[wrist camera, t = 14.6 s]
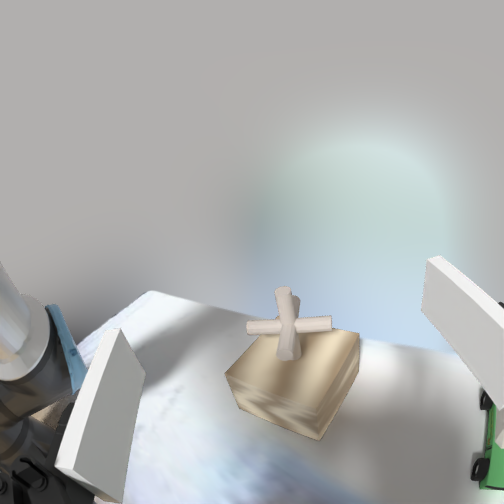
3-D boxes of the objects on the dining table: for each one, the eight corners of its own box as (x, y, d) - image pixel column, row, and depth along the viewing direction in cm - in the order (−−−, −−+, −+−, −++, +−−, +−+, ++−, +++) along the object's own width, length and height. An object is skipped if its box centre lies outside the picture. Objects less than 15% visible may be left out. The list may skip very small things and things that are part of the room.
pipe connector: (333, 327, 40) (327, 264, 36) (333, 383, 31) (328, 315, 27) (263, 331, 42) (248, 271, 38) (248, 384, 34) (227, 321, 30)
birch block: (239, 408, 39) (224, 373, 36) (285, 352, 48) (278, 315, 45) (319, 441, 32) (316, 408, 28) (358, 371, 41) (359, 333, 37)
